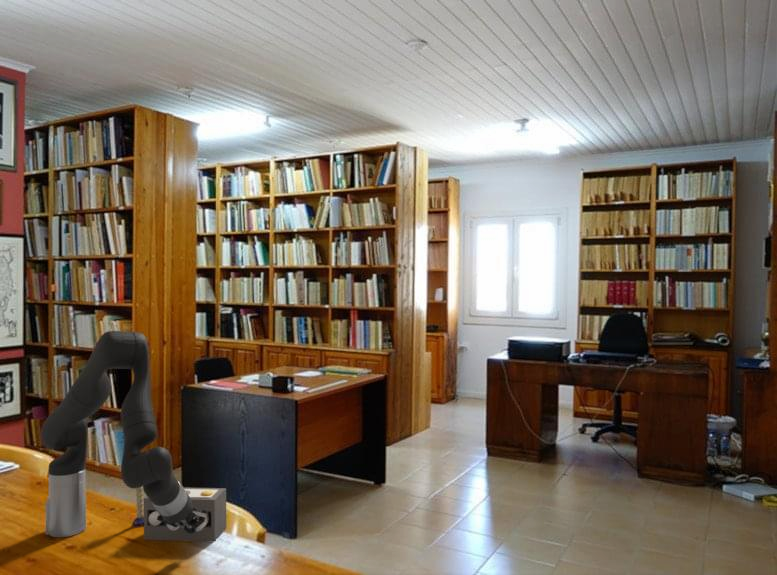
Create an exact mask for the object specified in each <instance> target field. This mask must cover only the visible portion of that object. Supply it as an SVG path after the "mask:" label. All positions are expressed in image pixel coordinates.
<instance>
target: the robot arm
mask: <svg viewBox="0 0 777 575" xmlns="http://www.w3.org/2000/svg"><path fill="white" fill-rule="evenodd" d="M149 349H150V348H149V344H148V340H147V338H146V336H145V335H144V334H143V333H142V332H136V331H122V330H108V331H105V332H104V333H103V334H101V335H100V337H99V339H98V340H97V341H96V344H95V346H94V348H93V351H92V352H91V353H90V354H91V355H90V356H89V359H88V360H87V362H86V364H85V366H84V368H83V369H82V371H81V373H80V374H79V375H78V376H77V378H76V380H75V381H74V382H73V384H72V385H71V387H70V388H69V389H68V392H67V393H66V395H65V396H64V398H63V399H62V401H60V403H59V405H58V406H57V407H56V408H55V409H54V410H53V411H52V412H51V413H50V414H49V415H48V417H47V418H46V419H45V420H44V422H43V423H42V427H41V430H40V441H41V443H42V446H44V447H45V448H46V449H49V450H60V449H65V448H67V449H66V451H64V453H62V454H61V455H59V456H58V457H55V459H53V460H52V461H50V462H49V464H48V499H46V501H45V535H47V536H50V537H53V538H67V537H72V536H75V535H78V534H81V533H82V532H84V531H85V530H86V529H87V506H86V505H87V501H86V500H87V498H86V497H87V496H86V495H87V493H86V490H87V489H86V488H87V487H86V486H87V485H86V484H87V483H86V473H87V472H86V462H87V457H88V456H87V455H88V435H89V434H88V432H89V430H88V427H89V426H88V421H87V418H89V417H90V416H93V415H94V414H95V413H97V412H98V411H100V409H101V408H102V407H103V406H104V405H105V403H106V401H107V400H108V399H109V397H110V395H111V393H112V383H111V380H110V378H109V376H108V374H107V372H106V371H108V370H112V369H116V370H117V369H119V370H121V369H123V370H127V369H128V370H131V371H132V372H133V373H132V374H133V381H132V383H131V386H130V389H129V390H128V392H127V394H126V396H125V398H124V400H123V402H122V405H121V409H120V422H121V426H122V432H123V433H122V434H123V437H124V438H123V440H124V441H123V443H124V444H123V453H122V459H121V467H120V474H121V476H120V477H121V479H122V482H123V483H124V484H125V486H126V487H128V488H130V489H133V490H136V488H139V487H142V488H143V490H142V491H144V494H145V496H147V497H148V498H149V499H150V501H151V502H152V504H153V506H154V508H155V509H156V510H157V512H158V513H159V514H158V517H157V520H159V521H161V522H164V523H166V524H168V525H171V526H173V527H178V526H180V527H181V528H184V530H185V531H187V532H188V533H193V534H194V532H196V528H197V527H198V526H200V525H201V524H202V523H203V522H205V518H206V515H207V511H205V510H203V511H202V512H201V511H200V512H197V509H196V508H195V507H193V505H192V501H191V498H190V497H189V495H188V494H187V492H186V491H185V489H184V488H185V487H184V486H183V485H182V483H180V481H179V480H177V478H176V476H175V474H174V470H173V468H174V467H173V458H172V455H171V453H170V451H169V450H168V449H166V448H165V447H163V446H162V447H161V446H155V447H152V448H150V449H147V450H143V449H145V448H146V447H148V446H149V445H151V444H152V443H153V442H154V441H156V439H158V429H157V424H156V418H155V414H154V410H153V403H152V395H151V391H152V390H151V364H150V363H151V362H150V350H149ZM142 450H143V451H142ZM195 516H196V517H195ZM194 517H195V519H194Z"/></svg>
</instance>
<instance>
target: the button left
mask: <svg viewBox="0 0 777 575" xmlns="http://www.w3.org/2000/svg"><path fill="white" fill-rule="evenodd" d="M158 514H159V513H158V512H157V510H155V511H154V512H153V513H151V514H150V516H149V522H150V524H151V525H154V526H157V525H159V524H160V523H161V521H159V520H157V517H158Z"/></svg>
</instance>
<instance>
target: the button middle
mask: <svg viewBox="0 0 777 575" xmlns="http://www.w3.org/2000/svg"><path fill="white" fill-rule="evenodd" d="M167 526H168V528H169V529H170V530H172V531H175V530H177V529H178V528H179V527H180V526H178V527H173V526H171V525H168V524H167Z"/></svg>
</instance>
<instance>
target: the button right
mask: <svg viewBox="0 0 777 575" xmlns="http://www.w3.org/2000/svg"><path fill="white" fill-rule="evenodd" d="M194 519H195V518H194ZM209 519H210V512H208V511H207V515H206V518H205V522H203V523H202V524H201V525H200V526H198V527H197V528H196V531H200V530H202V529H203V528H204V527H205V525H206V524H207V523H208V521H209Z"/></svg>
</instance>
